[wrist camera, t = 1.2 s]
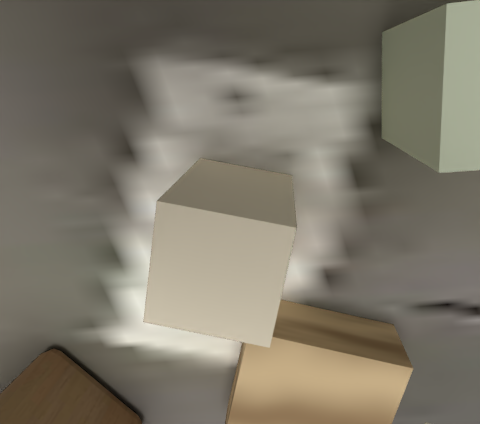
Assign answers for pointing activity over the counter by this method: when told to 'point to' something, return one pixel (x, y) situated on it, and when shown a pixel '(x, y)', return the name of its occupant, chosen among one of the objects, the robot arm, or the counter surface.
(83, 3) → the counter surface
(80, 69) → the counter surface
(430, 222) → the counter surface
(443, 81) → the sage block
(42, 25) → the counter surface
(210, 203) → the cream block
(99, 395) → the wooden block
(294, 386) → the oak base
